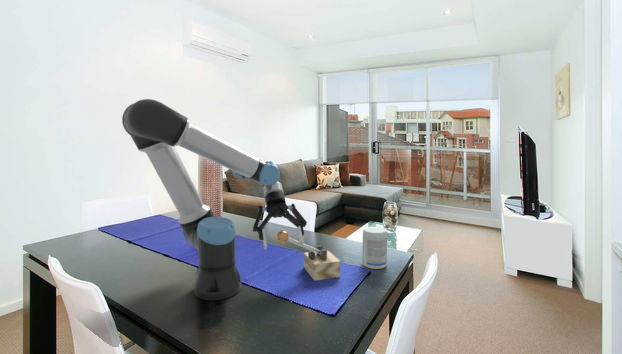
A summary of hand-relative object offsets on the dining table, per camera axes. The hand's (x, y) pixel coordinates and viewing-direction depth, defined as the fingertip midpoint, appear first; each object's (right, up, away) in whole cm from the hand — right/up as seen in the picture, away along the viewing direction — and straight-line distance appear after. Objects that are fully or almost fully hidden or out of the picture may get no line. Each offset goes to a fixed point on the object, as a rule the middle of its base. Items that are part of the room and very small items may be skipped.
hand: (284, 245), depth 108 cm
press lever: (+13, -4, +8) cm, 16 cm away
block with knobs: (+13, -12, +9) cm, 20 cm away
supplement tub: (+35, -11, +16) cm, 40 cm away
